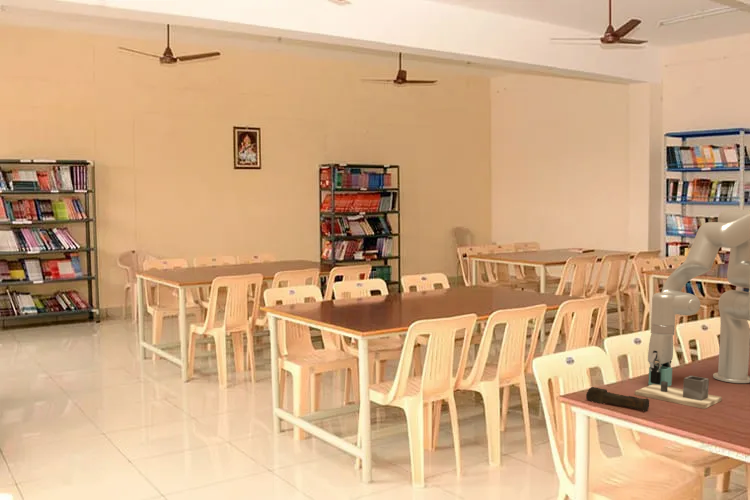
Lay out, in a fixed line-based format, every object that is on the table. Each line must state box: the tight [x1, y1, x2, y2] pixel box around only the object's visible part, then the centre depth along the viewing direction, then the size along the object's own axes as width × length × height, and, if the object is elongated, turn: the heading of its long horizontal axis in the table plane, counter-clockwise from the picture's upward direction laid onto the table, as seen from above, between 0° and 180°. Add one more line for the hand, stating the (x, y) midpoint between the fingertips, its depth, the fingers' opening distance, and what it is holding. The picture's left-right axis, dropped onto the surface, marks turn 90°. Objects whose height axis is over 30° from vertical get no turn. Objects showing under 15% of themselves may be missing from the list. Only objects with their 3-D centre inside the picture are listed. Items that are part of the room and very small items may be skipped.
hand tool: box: [585, 386, 650, 413], centre depth 229 cm, size 19×4×5 cm, turn 50°
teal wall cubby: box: [648, 365, 673, 387], centre depth 255 cm, size 6×6×6 cm
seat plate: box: [634, 375, 723, 410], centre depth 239 cm, size 14×22×7 cm, turn 46°
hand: (660, 381), depth 255 cm, fingers open, 6 cm apart
